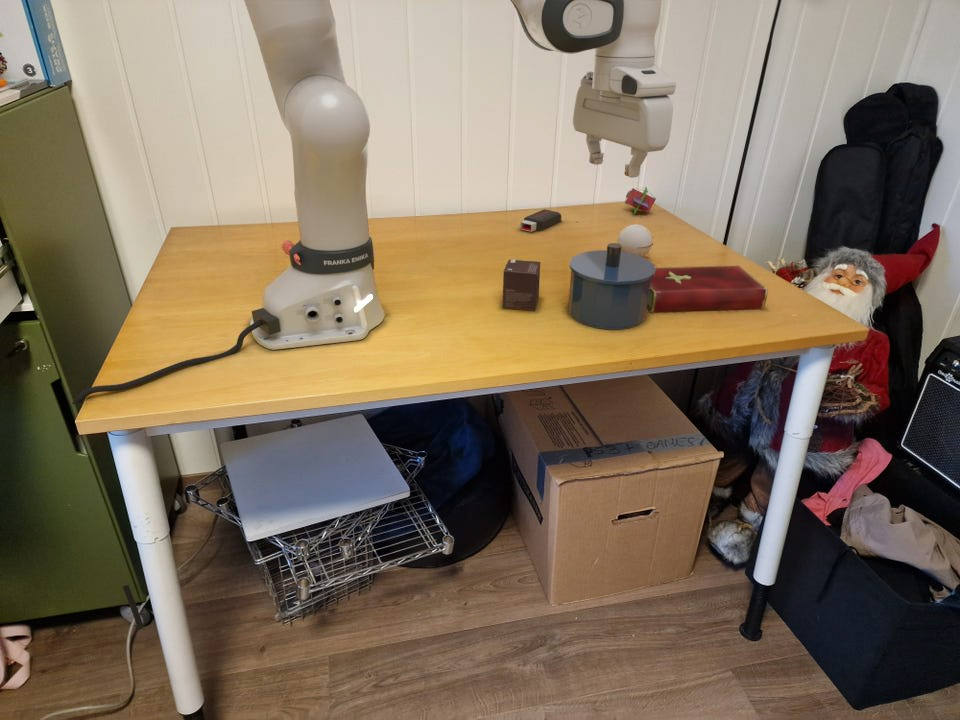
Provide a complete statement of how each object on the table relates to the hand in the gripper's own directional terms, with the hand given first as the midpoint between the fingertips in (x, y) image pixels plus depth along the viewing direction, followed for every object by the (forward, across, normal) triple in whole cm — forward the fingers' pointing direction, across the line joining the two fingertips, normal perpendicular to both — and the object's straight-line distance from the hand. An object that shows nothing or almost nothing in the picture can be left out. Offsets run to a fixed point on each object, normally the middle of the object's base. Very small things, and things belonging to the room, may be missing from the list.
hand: (613, 169), depth 104 cm
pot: (+25, +2, +1) cm, 25 cm away
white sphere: (+25, -18, +24) cm, 39 cm away
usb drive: (+25, -46, +16) cm, 55 cm away
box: (+25, -9, -11) cm, 29 cm away
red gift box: (+26, -44, +45) cm, 68 cm away
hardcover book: (+25, +4, +20) cm, 32 cm away
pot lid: (+16, +2, +1) cm, 17 cm away
